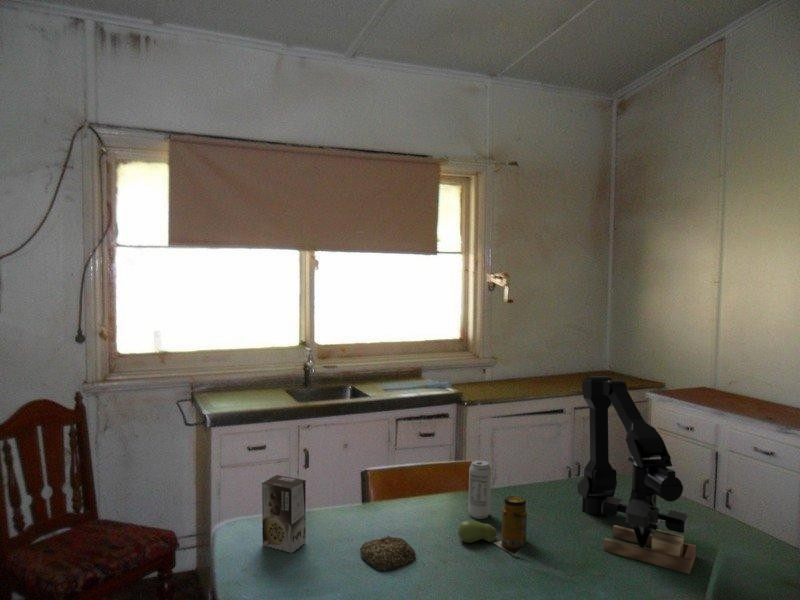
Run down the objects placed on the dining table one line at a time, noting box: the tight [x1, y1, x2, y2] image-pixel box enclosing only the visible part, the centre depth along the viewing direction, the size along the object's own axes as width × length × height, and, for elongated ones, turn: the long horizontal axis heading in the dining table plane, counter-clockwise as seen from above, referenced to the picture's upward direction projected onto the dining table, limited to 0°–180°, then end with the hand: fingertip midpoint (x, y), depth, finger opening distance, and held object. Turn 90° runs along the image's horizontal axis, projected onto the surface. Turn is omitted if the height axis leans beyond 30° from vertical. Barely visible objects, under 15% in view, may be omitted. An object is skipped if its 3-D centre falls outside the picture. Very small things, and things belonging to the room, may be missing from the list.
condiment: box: [493, 495, 528, 558], centre depth 147 cm, size 7×8×12 cm
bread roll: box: [359, 535, 416, 571], centre depth 142 cm, size 13×12×5 cm
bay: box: [602, 524, 697, 575], centre depth 143 cm, size 19×13×4 cm
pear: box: [457, 519, 497, 544], centre depth 151 cm, size 6×5×10 cm
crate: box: [650, 528, 685, 558], centre depth 141 cm, size 6×6×5 cm
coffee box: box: [261, 474, 307, 554], centre depth 147 cm, size 9×6×16 cm
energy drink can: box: [467, 459, 492, 520], centre depth 166 cm, size 6×6×15 cm
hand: (642, 548), depth 144 cm, fingers closed
